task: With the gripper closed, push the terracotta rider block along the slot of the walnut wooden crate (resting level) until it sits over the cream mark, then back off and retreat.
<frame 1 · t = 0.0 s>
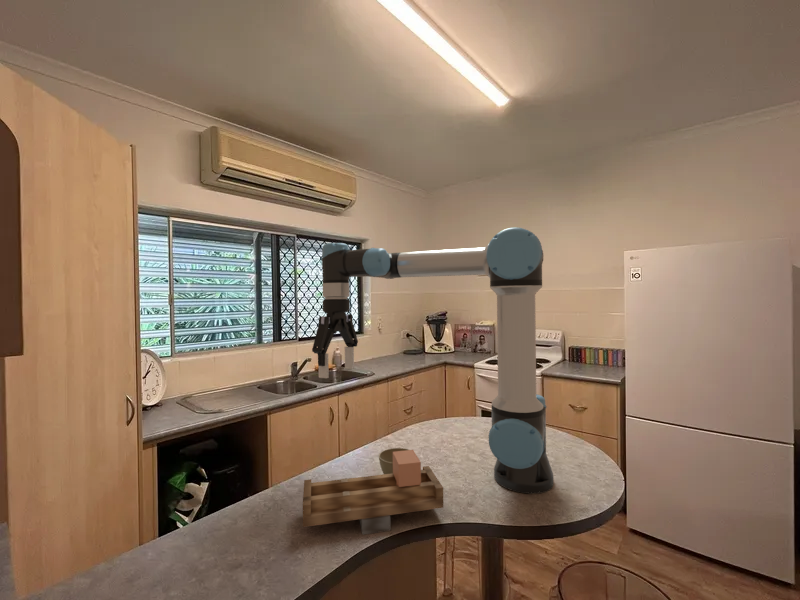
hand: (337, 373, 108), 28 cm above the worktop, fingers open, 13 cm apart
wooden crate: (372, 516, 86), on the worktop
rider: (406, 472, 87), point 9 cm above the worktop, slide at -8.0 cm
flower pot: (397, 482, 102), on the worktop
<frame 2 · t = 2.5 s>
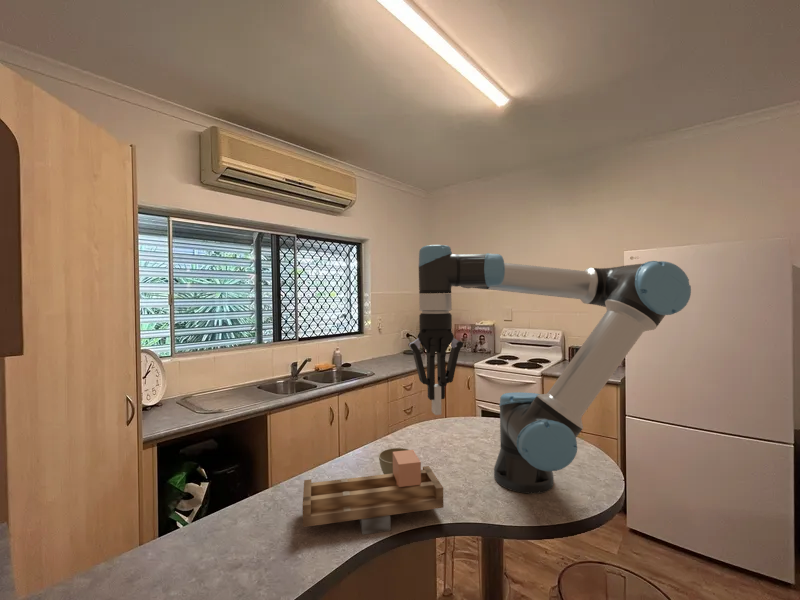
hand: (436, 413, 89), 22 cm above the worktop, fingers closed
nothing on the worktop moved.
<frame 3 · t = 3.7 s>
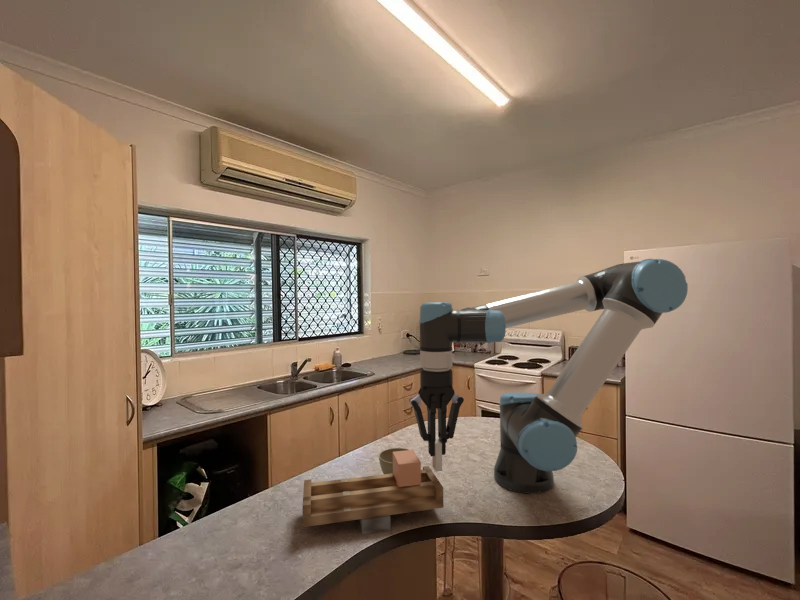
hand: (437, 468, 89), 9 cm above the worktop, fingers closed
nothing on the worktop moved.
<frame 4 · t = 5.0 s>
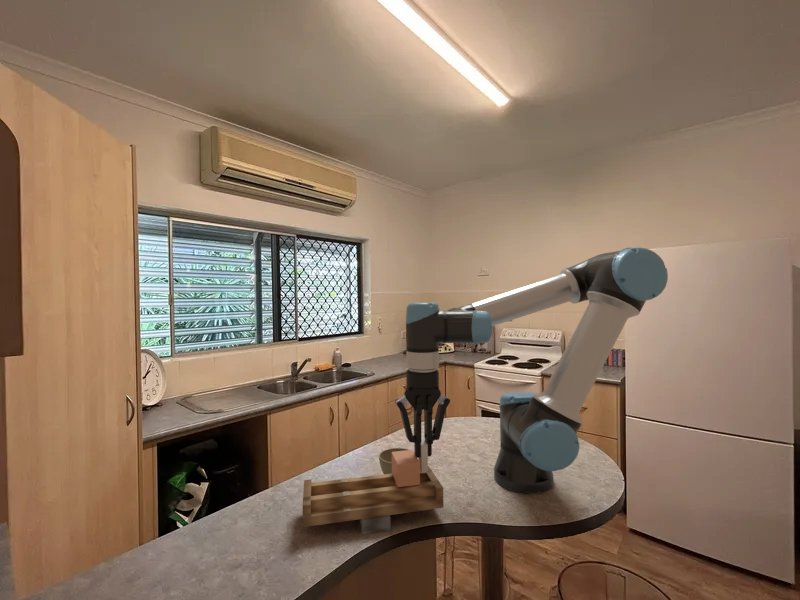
hand: (423, 470, 88), 9 cm above the worktop, fingers closed
rider: (405, 472, 87), point 9 cm above the worktop, slide at -7.7 cm, touching gripper
everything else where it was.
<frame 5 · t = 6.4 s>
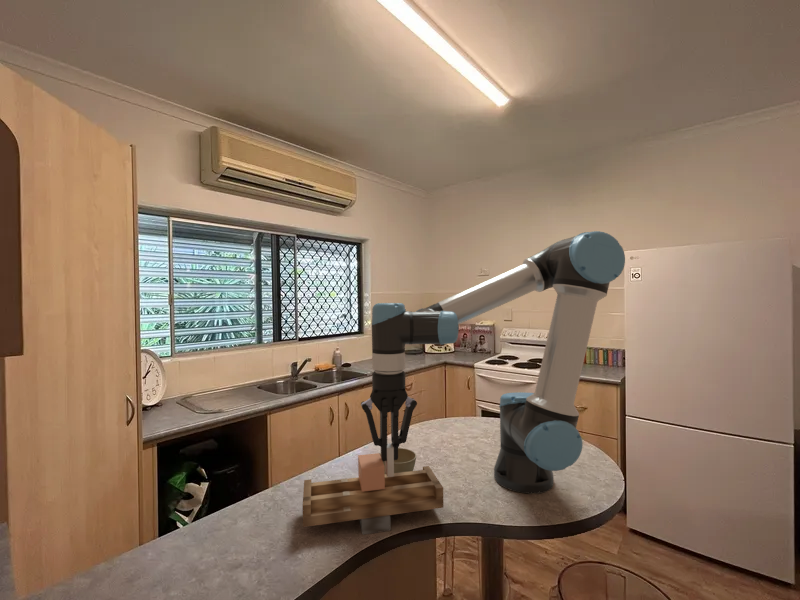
hand: (389, 473, 87), 9 cm above the worktop, fingers closed
rider: (371, 476, 86), point 9 cm above the worktop, slide at 0.2 cm, touching gripper
everything else where it was.
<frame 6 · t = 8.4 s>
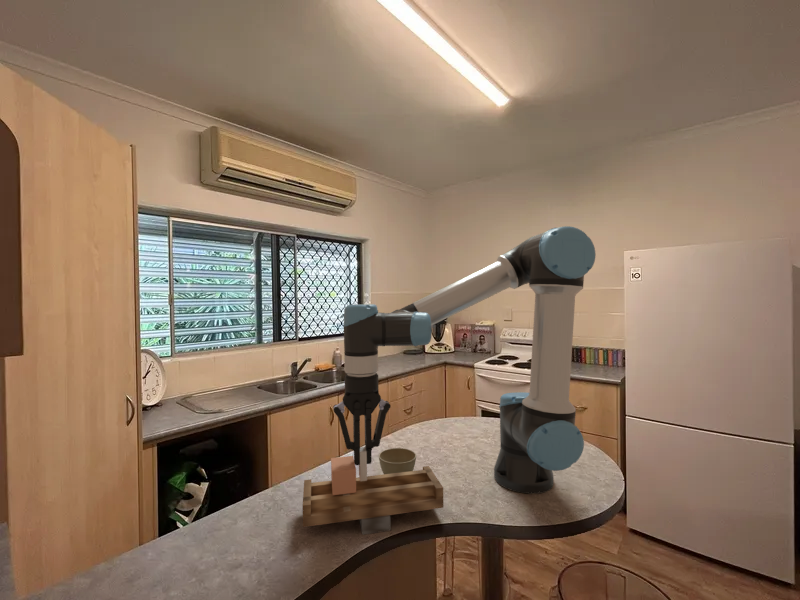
hand: (363, 478, 85), 9 cm above the worktop, fingers closed
rider: (343, 480, 84), point 9 cm above the worktop, slide at 6.4 cm, touching gripper
everything else where it was.
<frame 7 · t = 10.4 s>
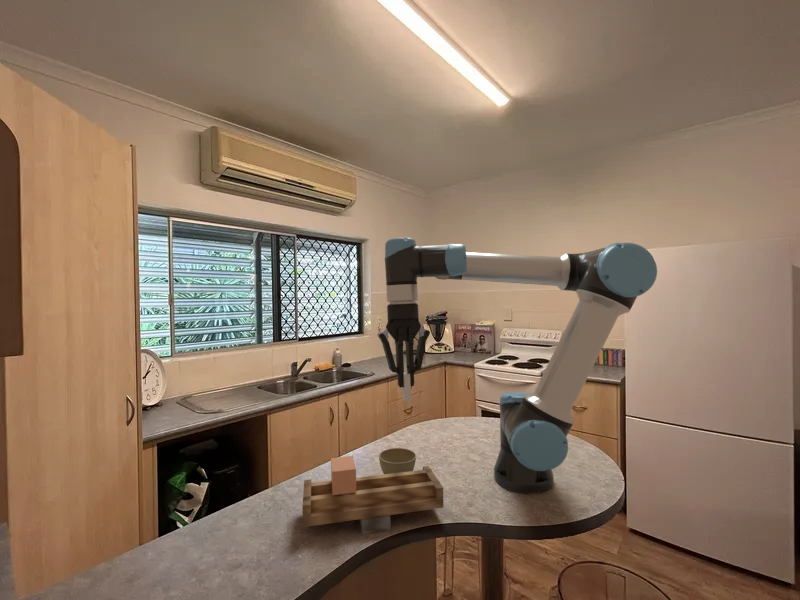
hand: (406, 400, 92), 24 cm above the worktop, fingers closed
rider: (343, 480, 84), point 9 cm above the worktop, slide at 6.4 cm
everything else where it was.
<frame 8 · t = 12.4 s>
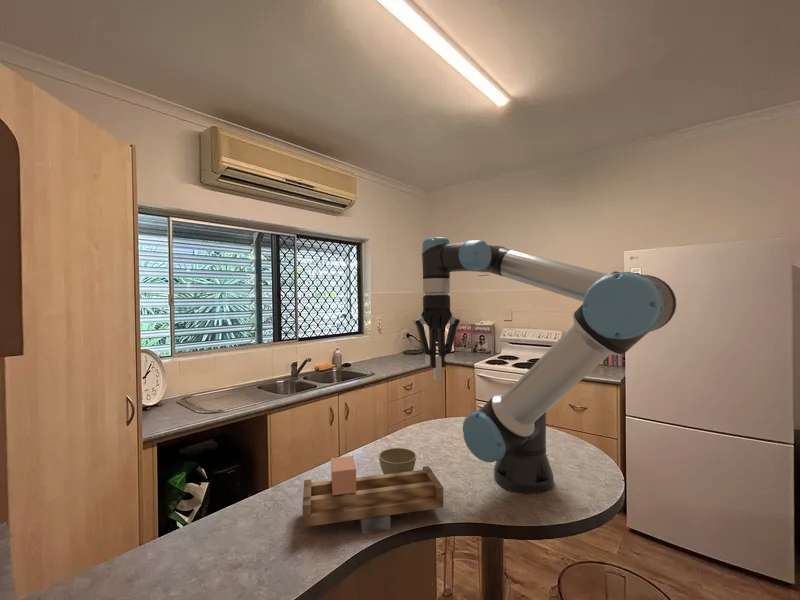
hand: (437, 379, 105), 26 cm above the worktop, fingers closed
nothing on the worktop moved.
at the end: rider slide at 6.4 cm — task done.
